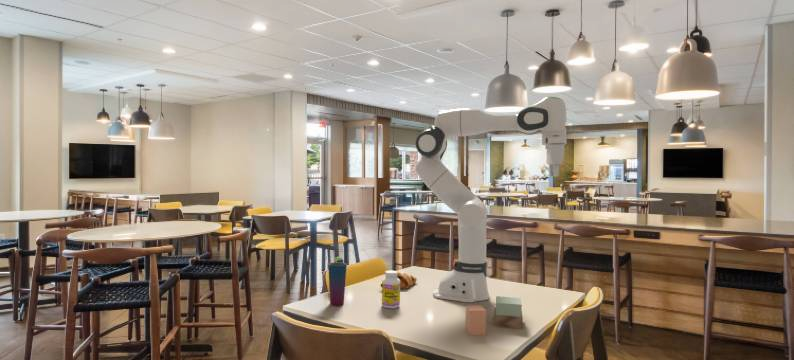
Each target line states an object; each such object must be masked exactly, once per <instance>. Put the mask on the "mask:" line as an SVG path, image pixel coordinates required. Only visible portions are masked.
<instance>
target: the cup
mask: <svg viewBox="0 0 794 360" xmlns="http://www.w3.org/2000/svg"><path fill="white" fill-rule="evenodd" d="M327 265H328V266H327V268H328V283H329V284H328V285H329V304H330V305H331V306H333V307H341V306H343V305H344V304H345V294H346V293H345V290H346V281H347V279H346V278H347V266H348V264H347V263H346V262H343V263H342V262H335V261H334V262H329V263H327Z"/></svg>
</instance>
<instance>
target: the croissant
mask: <svg viewBox="0 0 794 360" xmlns="http://www.w3.org/2000/svg"><path fill="white" fill-rule="evenodd" d="M397 272H398V271H397ZM397 278H398V279H399V280H400V291H401V290H404V289H408V288H410V287H412V286H413V285H414V284H416V283H417V281H418V279H417V277H416V276H415V277H414V276H413V275H409V274H408V273H401V272H400V271H399V272H398V275H397ZM380 287H381V288H382V283H380Z"/></svg>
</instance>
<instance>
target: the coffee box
mask: <svg viewBox="0 0 794 360" xmlns="http://www.w3.org/2000/svg"><path fill="white" fill-rule="evenodd" d="M334 262H342V263H344V259H343V258H342V257H341V256H335V257H334Z"/></svg>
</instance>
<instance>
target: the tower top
mask: <svg viewBox="0 0 794 360" xmlns="http://www.w3.org/2000/svg"><path fill="white" fill-rule="evenodd" d="M522 306H523V305H522V300H521V297H512V296H511V297H510V296H498V295H497V296H495V307H496V315H502V316H514V317H521V311H522ZM522 312H523V311H522Z"/></svg>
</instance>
